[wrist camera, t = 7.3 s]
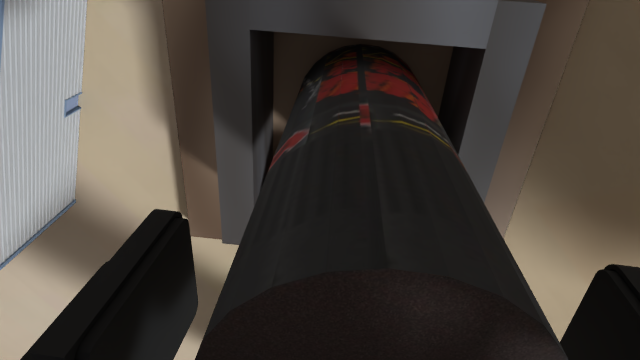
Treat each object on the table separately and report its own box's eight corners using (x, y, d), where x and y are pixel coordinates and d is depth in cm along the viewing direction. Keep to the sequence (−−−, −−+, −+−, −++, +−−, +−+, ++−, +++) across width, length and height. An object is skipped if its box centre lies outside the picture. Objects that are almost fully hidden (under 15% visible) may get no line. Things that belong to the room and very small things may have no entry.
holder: (611, -104, 16) (724, -128, 11) (487, 254, 25) (519, 330, 20) (159, -133, 17) (73, -167, 12) (197, 224, 26) (158, 290, 21)
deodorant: (441, 130, 20) (617, 466, 7) (335, 180, 22) (310, 527, 8) (387, 17, 18) (495, 195, 4) (273, 84, 19) (110, 353, 6)
